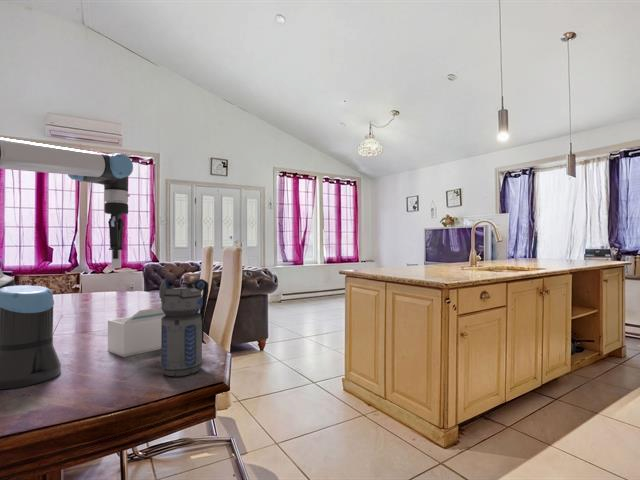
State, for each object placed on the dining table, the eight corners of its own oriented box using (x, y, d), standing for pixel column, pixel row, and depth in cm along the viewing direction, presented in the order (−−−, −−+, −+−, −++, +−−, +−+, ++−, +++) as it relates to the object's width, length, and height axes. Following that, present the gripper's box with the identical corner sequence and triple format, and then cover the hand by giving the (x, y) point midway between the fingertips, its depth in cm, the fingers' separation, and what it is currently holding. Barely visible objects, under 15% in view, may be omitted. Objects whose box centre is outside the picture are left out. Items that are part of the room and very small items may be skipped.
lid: (140, 310, 102) (140, 312, 102) (192, 303, 115) (193, 305, 115) (124, 322, 109) (124, 324, 108) (175, 314, 122) (176, 316, 121)
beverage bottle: (217, 368, 98) (216, 277, 98) (168, 382, 88) (168, 280, 89) (199, 361, 105) (198, 275, 106) (152, 372, 95) (152, 278, 96)
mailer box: (107, 350, 117) (107, 320, 117) (155, 340, 129) (155, 312, 130) (123, 357, 109) (123, 324, 110) (173, 346, 122) (173, 316, 122)
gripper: (124, 200, 125) (124, 268, 124) (131, 205, 137) (131, 267, 137) (99, 200, 123) (99, 269, 122) (109, 204, 135) (109, 267, 134)
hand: (116, 268), depth 129 cm, fingers closed
